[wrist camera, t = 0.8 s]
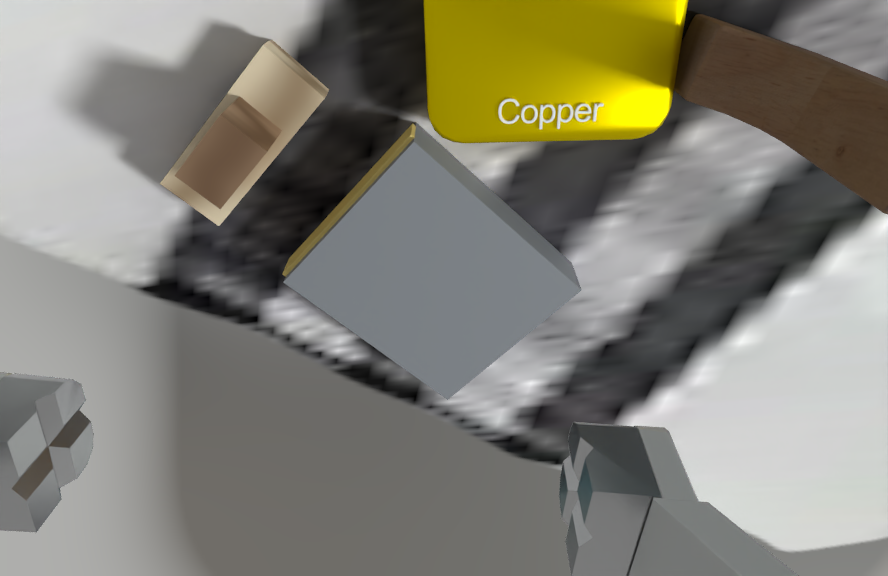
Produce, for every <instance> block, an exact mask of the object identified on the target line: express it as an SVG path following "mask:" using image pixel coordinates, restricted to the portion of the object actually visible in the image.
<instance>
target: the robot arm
mask: <svg viewBox="0 0 888 576" xmlns="http://www.w3.org/2000/svg"><path fill="white" fill-rule="evenodd" d="M85 401H86V399H85V396H84V392H83V389H82V385H81V384H80V383H78V382H77V381H75V380H73V379H64V378H55V377H45V376H35V375H27V374H17V373H14V374H11V373H4V372H0V530H5V531H24V532H37V531H38V529H39V528H40V527H41V526H42V524H43V523H44V522H45V520H46V519H47V518H48V516H49V515H50V514H51V512H52V511H53V510H54V508H55V507H56V506H57V505H58V503H59V502H60V500H61V493H60V488H61V487H62V486H64V485H66V484H68V483H70V482H71V481H73V480H75V479H77V478H78V477H79V475H80V474H81V472H82V471H83V470H84V468H85V467H86V465H87V463H88V461H89V458H90V455H91V452H92V449H93V435H94V433H93V429H92V424H91V421H90V420H89V419H88V418H87V417H86V416H84V414H83V413H81V411H79V410H80V408H81V407H82V405H83V404H84V402H85ZM568 446H569V451H570V456H569V457H568V458H567V459H565V460H564V461H563V465H562V470H561V476H560V489H559V490H560V491H559V498H560V510H561V517H562V520H563V521H564V522H565V523H566V524H567V525H568V526H569V528H568V533H567V537H566V548H567V554H568V560H569V566H570V571H571V576H799V575H798V574H796V573H795V572H794V571H793V570H791V569H790V568H789V567H787V566H786V565H785V564H784V563H783V562H781V561H780V560H779V559H778V558H776V557H775V556H774V555H773V554H771V553H770V552H769V551H768V550H766V549H765V548H764V547H763V546H762V545H760V544H759V543H758V542H757V541H755V540H754V539H753V538H752V537H750V536H749V535H748V534H747V533H745V532H744V531H743V530H742V529H741V528H739V527H738V526H737V525H736V524H734V523H733V522H732V521H731V520H729V519H728V518H727V517H726V516H724V515H723V514H722V513H721V512H719V511H718V510H717V509H716V508H714V507H713V506H712V505H711V504H710V503H708V502H699V501H698V498H697V496H696V494H695V491H694V489H693V487H692V484H691V482H690V479H689V477H688V475H687V472H686V470H685V468H684V465H683V463H682V461H681V458H680V456H679V454H678V451H677V449H676V447H675V444H674V442H673V440H672V437H671V435H670V433H669V431H668V430H667V429H665V428H662V427H646V426H634V427H631V426H619V425H606V424H594V423H581V422H573V424H572V426H571V428H570V433H569V437H568Z"/></svg>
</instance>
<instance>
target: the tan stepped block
mask: <svg viewBox="0 0 888 576" xmlns="http://www.w3.org/2000/svg"><path fill="white" fill-rule="evenodd" d="M328 91H329V89H328V88H327V87H326V86H324V85H323V84H322V83H321V82H320V81H319V80H317V79H316V78H315V77H314V76H313V75H312V74H311V73H309V72H308V71H307V70H306V69H305V68H304V67H303V66H301V65H300V64H299V63H298V62H297V61H296V60H295V59H293V58H292V57H291V56H290V55H289V54H288V53H286V52H285V51H284V50H283V49H282V48H281V47H280V46H278V45H277V44H276V43H275V42H274V41H273V40H271V41H267V42H266V43H265V44H263V46H262V47H261V48H260V50H259V51H258V52H257V54H256V55H255V56H254V58H253V59H252V60H251V62H250V63H249V64H248V66H247V67H246V68H245V70H244V71H243V72H242V74H241V75H240V77H239V78H238V79H237V81H236V82H235V83H234V85H233V86H232V87H231V89H230V90H229V91H228V93H227V94H226V95H225V97H224V98H223V99H222V101H221V102H220V103H219V105H218V106H217V107H216V109H215V110H214V111H213V113H212V114H211V116H210V117H209V118H208V120H207V121H206V122H205V124H204V125H203V126H202V128H201V129H200V130H199V132H198V133H197V134H196V136H195V137H194V138H193V140H192V141H191V142H190V144H189V145H188V146H187V148H186V149H185V151H184V152H183V153H182V155H181V156H180V157H179V159H178V160H177V161H176V163H175V164H174V165H173V167H172V168H171V169H170V171H169V172H168V173H167V175H166V176H165V177H164V179H163V180H162V181H161V183H160V184H161V185H162V186H164V187H165V188H167V189H168V190H169V191H171V192H172V193H174V194H175V195H176V196H178V197H179V198H181V199H182V200H183V201H185V202H186V203H187V204H189V205H190V206H192V207H193V208H194V209H196V210H197V211H199V212H200V213H201V214H203V215H204V216H205V217H207V218H208V219H210V220H211V221H212V222H214V223H215V224H217V225H218V226H220V224H221V223H222V222H223V221H224V220H225V218H226V217H227V216H228V215H229V214H230V212H231V211H232V210H233V209H234V207H235V206H236V205H237V204H238V203H239V201H240V200H241V199H242V198H243V197H244V195H245V194H246V193H247V192H248V191H249V189H250V188H251V187H252V186H253V184H254V183H255V182H256V181H257V180H258V178H259V177H260V176H261V175H262V174H263V172H264V171H265V170H266V169H267V167H268V166H269V165H270V164H271V163H272V161H273V160H274V159H275V158H276V157H277V155H278V154H279V153H280V152H281V151H282V149H283V148H284V147H285V146H286V144H287V143H288V142H289V141H290V140H291V138H292V137H293V136H294V135H295V134H296V132H297V131H298V130H299V129H300V127H301V126H302V125H303V124H304V123H305V121H306V120H307V119H308V118H309V117H310V115H311V114H312V113H313V112H314V111H315V109H316V108H317V107H318V106H319V104H320V103H321V102H322V101H323V100H324V98H325V97H326V95H327V94H328ZM239 96H240V97H241V98H243V99H244V100H245V101H246V102H247V103H249V104H250V105H251V106H252V107H254V108H255V109H256V110H257V111H258V112H260V113H261V114H262V115H263V116H265V117H266V118H267V119H268V120H269V121H271V122H272V123H273V124H274V125H276V126H277V127H278V128H279V129H281V130H282V132H281V133H280V135H279V136H278V137H277V139H276V140H275V142H274V143H273V144H272V146H271V147H270V149H269V150H268V152H267V153H266V154H265V155H264V156H263V158H262V159H261V160H260V161H259V163H258V164H257V165H256V166H255V168H254V169H253V170H252V171H251V172H250V174H249V175H248V176H247V177H246V179H245V180H244V181H243V182H242V184H241V185H240V186H239V187H238V188H237V190H236V191H235V192H234V193H233V195H232V196H231V197H230V198H229V199H228V201H227V202H226V203H225V204H224V206H223V207H222V208H221V209H219V208H218V207H216V206H215V205H214V204H212V203H211V202H209V201H208V200H207V199H205V198H204V197H203V196H201V195H200V194H198V193H197V192H196V191H194V190H193V189H192V188H190V187H189V186H188V185H186V184H185V183H183V182H182V181H181V180H179V179H178V178H177V177H175V174H176V173H177V172H178V170H179V169H180V168H181V166H182V165H183V164H184V162H185V161H186V160H187V158H188V157H189V156H190V154H191V153H192V152H193V150H194V149H195V148H196V146H197V145H198V144H199V142H200V141H201V140H202V138H203V137H204V136H205V134H206V133H207V132H208V130H209V129H210V128H211V126H212V125H213V124H214V122H215V121H216V120H217V118H218V117H219V116H220V114H221V113H223V112H224V111H225V110H226V109H227V108H228V107H229V106H230V105H231V104H232V103H233V102H234V101H235V100H236V99H237V98H238V97H239Z"/></svg>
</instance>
